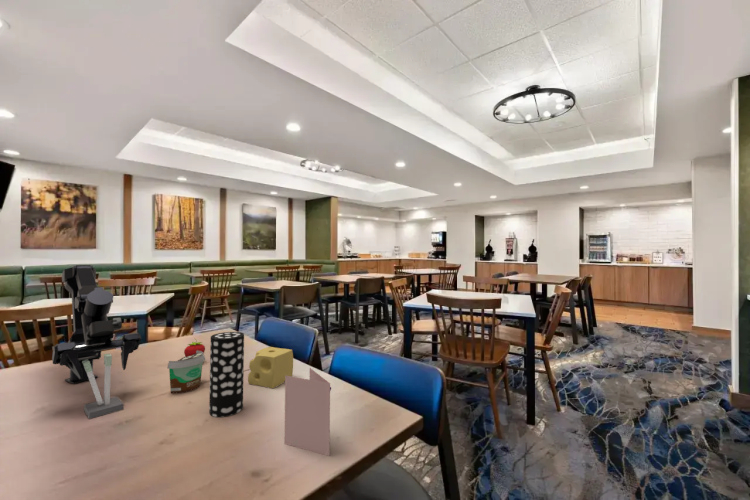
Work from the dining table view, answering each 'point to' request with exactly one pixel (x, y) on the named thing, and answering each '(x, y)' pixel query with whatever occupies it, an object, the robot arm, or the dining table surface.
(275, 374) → the cheese
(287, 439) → the greeting card
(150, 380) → the dining table surface
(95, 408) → the stand
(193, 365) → the food container
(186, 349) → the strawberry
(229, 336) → the white-spotted black cylinder
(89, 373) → the swinging tong arm
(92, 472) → the dining table surface
